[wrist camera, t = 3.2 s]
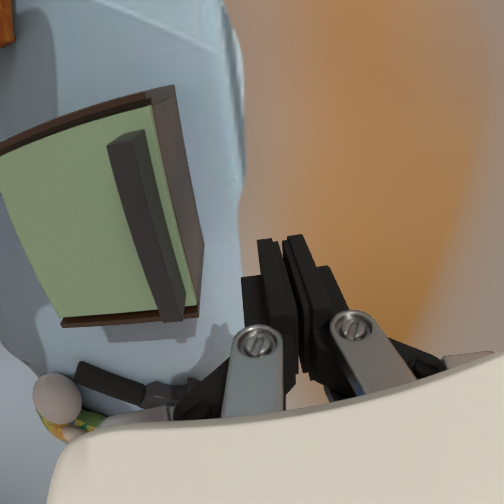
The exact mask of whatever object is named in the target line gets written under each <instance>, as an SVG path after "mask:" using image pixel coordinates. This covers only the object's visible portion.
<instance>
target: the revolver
mask: <svg viewBox="0 0 504 504" xmlns="http://www.w3.org/2000/svg"><path fill="white" fill-rule="evenodd" d="M74 381H75V383H78V384H80V385H82V386H85V387H87V388H90V389H92V390H95V391H98V392H100V393H103V394H105V395H108V396H111V397H114V398H117V399H119V400H122V401H125V402H128V403H131V404H134V405H137V406H138V407H140V408H143V409H149V408H154V407H158V406H163V405H166V406H167V407H172V406H176V404H177V403H178V402H179V401H180V400H181V399H182V398H183V397H184V396H185V395H187V394H188V393H189V392H190V391H191V390H192V389H194V388H195V387H196V386H197V385H198V384H199V383H201V382H198V381H196V380H194V379H192V378H188V384H187V385H186V386H184V387H172V386H168V385H165V384H162V383H158V382H153V383H151V384H148V385H147V386H146V387H145V388H144V385H143V384H140V383H137V382H134V381H131V380H128V379H126V378H123V377H120V376H117V375H115V374H112V373H110V372H107V371H104V370H102V369H99V368H97V367H94V366H92V365H90V364H87V363H85V362H82V361H81V362H79V363H78V366H77V369H76V373H75V376H74Z"/></svg>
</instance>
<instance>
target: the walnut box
mask: <svg viewBox="0 0 504 504" xmlns="http://www.w3.org/2000/svg"><path fill="white" fill-rule="evenodd" d="M148 105H151V106H152V110H153V116H154V121H155V126H156V131H157V136H158V141H159V146H160V151H161V156H162V161H163V166H164V170H165V175H166V179H167V184H168V188H169V193H170V197H171V201H172V205H173V210H174V214H175V218H176V222H177V226H178V230H179V234H180V238H181V242H182V246H183V250H184V254H185V257H186V261H187V265H188V269H189V272H190V276H191V280H192V283H193V287H194V290H195V294H196V298H197V305H194V306H185V308H184V317H183V319H187V318H196V317H199V309H200V293H201V280H202V268H203V256H204V241H203V236H202V231H201V227H200V222H199V217H198V212H197V207H196V202H195V197H194V192H193V187H192V182H191V177H190V172H189V167H188V161H187V156H186V151H185V145H184V140H183V134H182V128H181V123H180V117H179V111H178V105H177V99H176V93H175V86H174V85H169V86H164V87H159V88H155V89H150V90H146V91H142V92H138V93H134V94H130V95H127V96H123V97H119V98H116V99H112V100H109V101H105V102H102V103H99V104H96V105H92V106H89V107H86V108H83V109H80V110H77V111H75V112H72V113H69V114H66V115H63V116H61V117H58V118H55V119H53V120H50V121H48V122H45V123H43V124H40V125H38V126H35V127H33V128H31V129H28V130H26V131H24V132H22V133H19V134H17V135H15V136H13V137H11V138H9V139H7V140H5V141H3V142H0V155H2V154H5V153H7V152H9V151H11V150H14V149H16V148H18V147H21V146H23V145H25V144H28V143H30V142H33V141H35V140H38V139H40V138H43V137H46V136H48V135H51V134H54V133H56V132H59V131H62V130H65V129H68V128H71V127H74V126H77V125H80V124H83V123H86V122H89V121H92V120H95V119H99V118H102V117H106V116H109V115H113V114H116V113H120V112H124V111H127V110H131V109H135V108H139V107H144V106H148ZM156 321H162V318H161V316H160V313H159V311H158V309H157V310H147V311H137V312H126V313H114V314H102V315H89V316H76V317H64V318H63V320H62V322H61V326H62V328H71V327H90V326H106V325H120V324H133V323H145V322H156Z"/></svg>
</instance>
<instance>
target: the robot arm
mask: <svg viewBox="0 0 504 504" xmlns="http://www.w3.org/2000/svg"><path fill="white" fill-rule="evenodd" d="M257 246H258V255H259V263H260V272H261V275H256V276H248V277H241V286H242V299H243V311H244V323H245V328H244V329H242V330H241V331H239V332H238V333H237V334H236V336H235V337H234V339H233V342H232V348H231V354H230V357H229V358H228V359H227V360H226V361H224V362H223V363H222V364H221V365H220V366H219V367H218V368H217V369H215V370H214V371H213V372H212V373H211V374H210V375H209V376H207V377H206V378H205V379H204V380H203V381H202V382H201V383H199V384H198V385H197V386H196V387H195V388H194V389H192V390H191V391H190V392H189V393H188V394H187V395H185V396H184V397H183V398H182V399H181V400H180V401H179V402H178V403H177V404H176V406H172V407H167V406H166V405H163V406H158V407H154V408H149V409H145V410H140V411H135V412H130V413H125V414H119V415H114V416H110V417H108V418H105V419H104V420H103V421H102V422H100V424H99V426H98V427H97V429H96V430H93V431H90V432H88V433H85V434H83V435H81V436H79V437H77V438H75V439H73V440H72V441H71V442H70V443H68V444H67V446H66V447H65V448H64V449H63V451H62V453H61V454H60V457H59V459H58V461H57V464H56V467H55V470H54V473H53V476H52V480H51V484H50V488H49V494H48V498H47V504H504V351H501V352H497V353H495V352H493V351H482V352H474V353H467V354H459V355H448V356H443V358H442V359H440V360H439V359H438V358H437V357H435V356H433V355H431V354H428V353H426V352H423V351H421V350H418V349H416V348H413V347H411V346H408V345H406V344H403V343H400V342H398V341H396V340H393V339H391V338H388V337H387V336H386V335H385V333H384V332H383V331H382V329H381V328H380V326H379V325H378V324H377V322H376V321H375V320H374V319H373V318H372V317H371V316H370V315H369V314H367V313H365V312H362V311H359V310H349V308H348V306H347V304H346V301H345V300H344V297H343V295H342V293H341V291H340V288H339V286H338V284H337V282H336V280H335V278H334V276H333V274H332V271H331V269H330V267H329V266H320V267H316V265H315V262H314V260H313V258H312V255H311V253H310V251H309V249H308V246H307V244H306V242H305V239H304V237H303V235H302V234H299V235H292V236H288V237H287V240H283V241H282V249H283V257H282V254H281V250H280V247H279V243H278V241H276V242H273V241H272V238H269V239H261V240H257ZM298 355H299V359H300V363H301V368H302V372H303V373H307V372H308V373H309V377H310V380H311V381H312V380H315V381H317V382H318V383H320V384H322V385H324V390H325V393H326V396H327V398H328V400H329V402H330V403H326V404H321V405H316V406H310V407H304V408H299V409H292V410H287V411H286V394H287V393H288V392H289V391H290V390H291V388H293V386H294V385H295V384H296V378H295V377H296V376H295V375H296V374H298V369H299V367H298Z"/></svg>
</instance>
